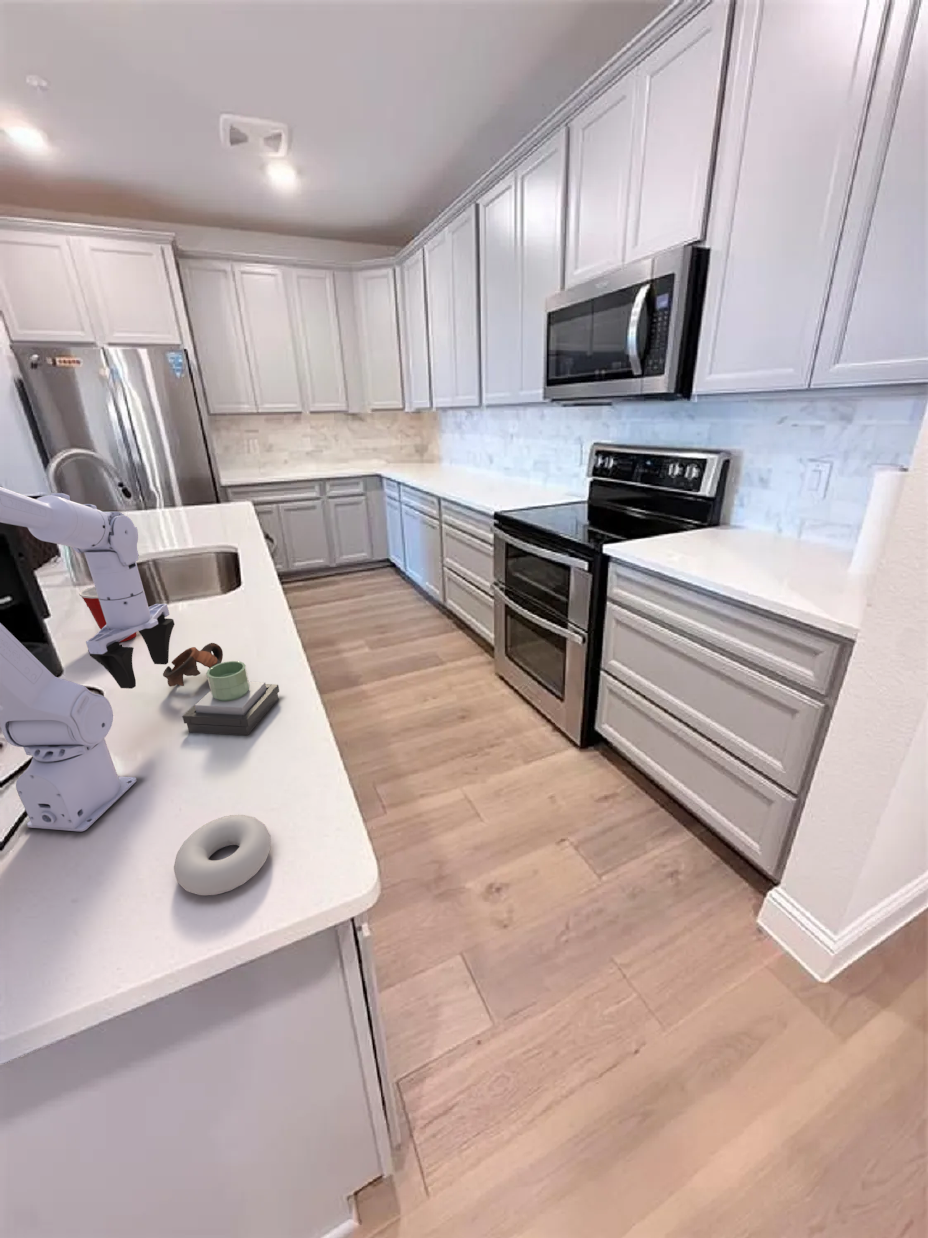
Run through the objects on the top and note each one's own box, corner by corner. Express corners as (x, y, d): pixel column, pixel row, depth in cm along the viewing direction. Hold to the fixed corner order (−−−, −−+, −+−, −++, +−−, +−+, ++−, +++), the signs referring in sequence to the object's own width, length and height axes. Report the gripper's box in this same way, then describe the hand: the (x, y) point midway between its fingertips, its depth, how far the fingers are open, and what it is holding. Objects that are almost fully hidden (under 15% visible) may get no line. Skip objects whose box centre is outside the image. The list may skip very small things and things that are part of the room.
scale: (250, 735, 80) (246, 719, 79) (186, 732, 81) (181, 716, 80) (281, 698, 90) (278, 684, 89) (223, 696, 92) (220, 681, 90)
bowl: (238, 703, 81) (233, 678, 80) (205, 701, 82) (199, 677, 80) (256, 685, 87) (251, 661, 85) (224, 683, 87) (219, 660, 86)
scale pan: (243, 716, 81) (241, 707, 80) (196, 714, 82) (194, 705, 81) (267, 690, 88) (265, 682, 87) (223, 688, 89) (221, 680, 88)
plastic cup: (160, 632, 118) (147, 583, 114) (113, 651, 110) (97, 599, 105) (131, 624, 123) (117, 577, 118) (84, 642, 114) (67, 592, 109)
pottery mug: (219, 699, 91) (184, 669, 87) (183, 714, 95) (148, 686, 90) (246, 654, 101) (215, 625, 97) (213, 669, 104) (182, 642, 100)
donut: (280, 878, 56) (266, 818, 64) (275, 856, 54) (261, 796, 63) (178, 920, 52) (177, 849, 60) (170, 896, 50) (170, 827, 58)
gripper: (109, 612, 67) (136, 700, 73) (177, 578, 81) (196, 654, 86) (61, 611, 68) (91, 698, 73) (137, 577, 82) (158, 653, 87)
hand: (145, 674), depth 80 cm, fingers open, 7 cm apart
